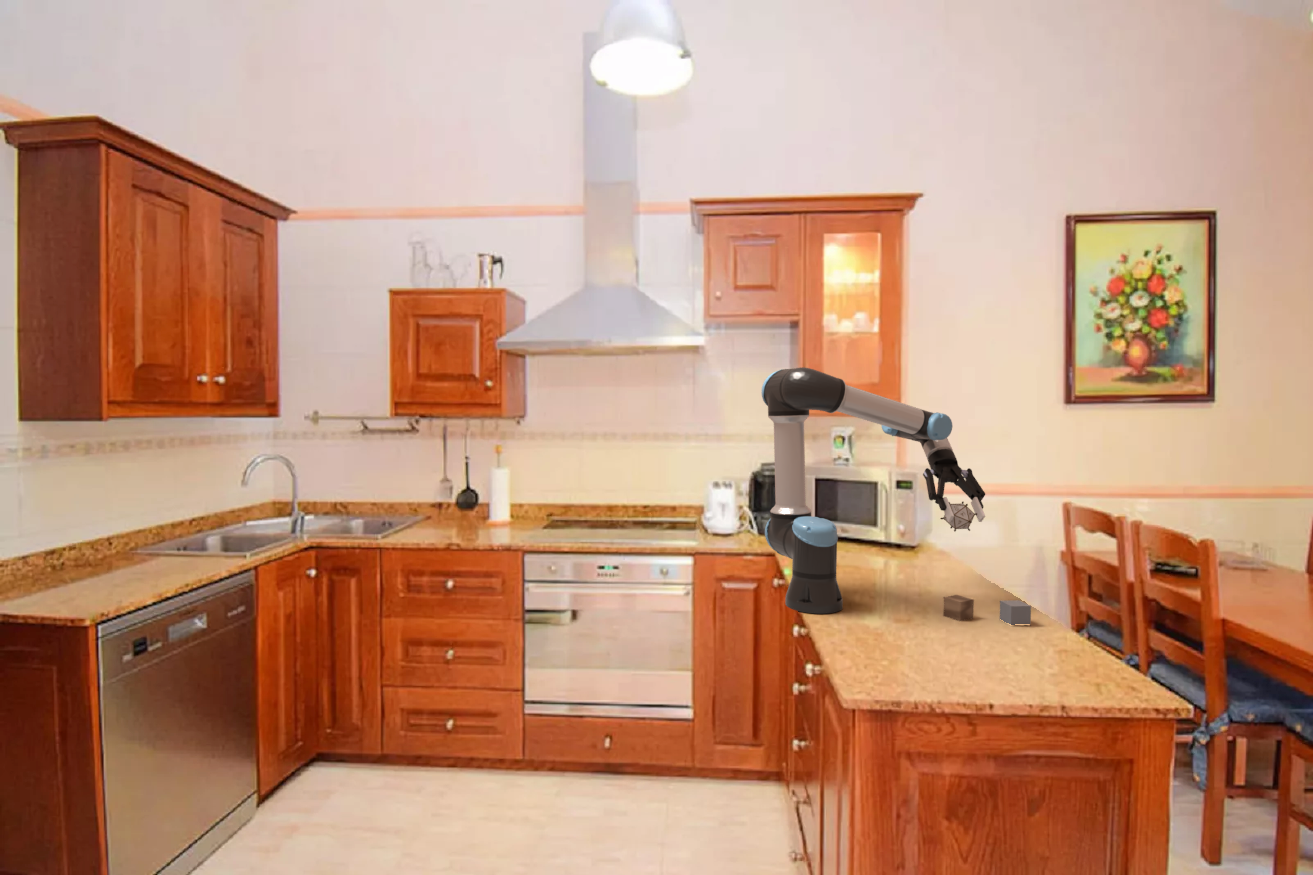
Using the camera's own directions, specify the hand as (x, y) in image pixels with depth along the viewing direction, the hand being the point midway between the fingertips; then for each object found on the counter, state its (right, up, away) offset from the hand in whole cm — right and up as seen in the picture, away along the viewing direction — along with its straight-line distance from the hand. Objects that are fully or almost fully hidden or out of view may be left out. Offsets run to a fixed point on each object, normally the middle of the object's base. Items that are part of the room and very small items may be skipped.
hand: (966, 518), depth 185 cm
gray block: (+5, -24, -15) cm, 29 cm away
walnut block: (-7, -24, -11) cm, 27 cm away
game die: (-1, -4, +3) cm, 5 cm away
